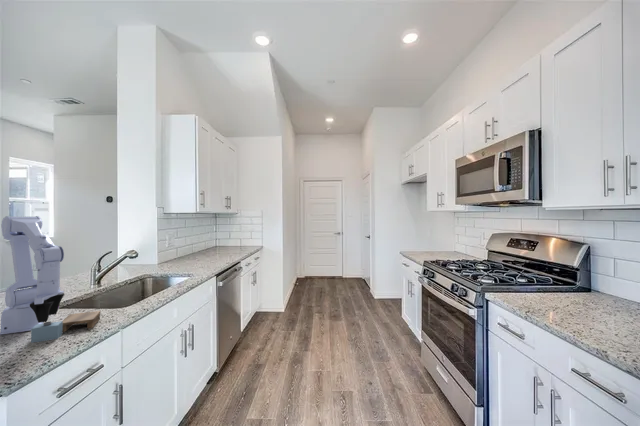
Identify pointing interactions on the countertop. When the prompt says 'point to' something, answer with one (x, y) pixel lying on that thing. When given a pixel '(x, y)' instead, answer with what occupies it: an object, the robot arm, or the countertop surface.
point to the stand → (81, 319)
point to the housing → (46, 331)
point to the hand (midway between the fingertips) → (47, 318)
